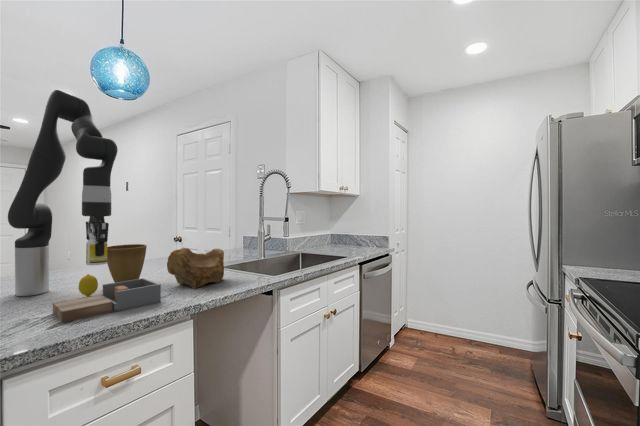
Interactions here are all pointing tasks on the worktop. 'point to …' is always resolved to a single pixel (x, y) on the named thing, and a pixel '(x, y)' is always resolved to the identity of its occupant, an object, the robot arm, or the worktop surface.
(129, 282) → the box
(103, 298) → the brown wavy slab
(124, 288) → the block
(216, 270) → the rough brown rock
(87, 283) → the lemon
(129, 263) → the plant pot
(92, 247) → the supplement bottle
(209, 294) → the worktop surface
